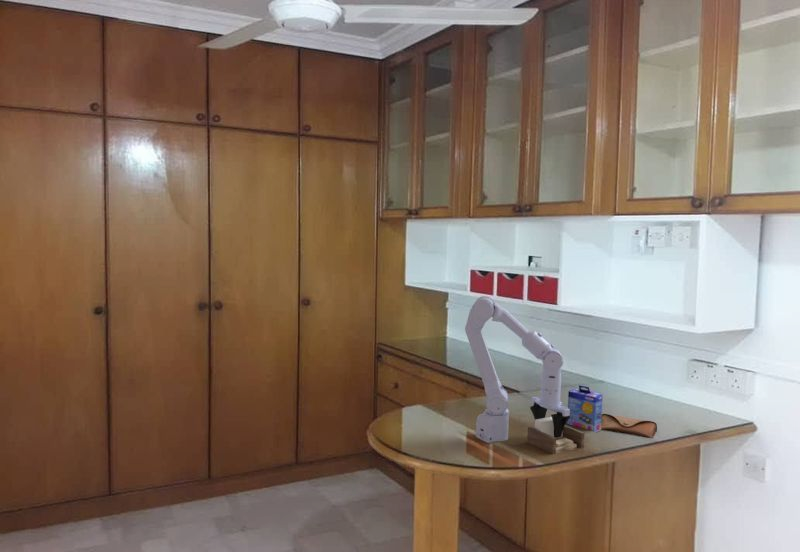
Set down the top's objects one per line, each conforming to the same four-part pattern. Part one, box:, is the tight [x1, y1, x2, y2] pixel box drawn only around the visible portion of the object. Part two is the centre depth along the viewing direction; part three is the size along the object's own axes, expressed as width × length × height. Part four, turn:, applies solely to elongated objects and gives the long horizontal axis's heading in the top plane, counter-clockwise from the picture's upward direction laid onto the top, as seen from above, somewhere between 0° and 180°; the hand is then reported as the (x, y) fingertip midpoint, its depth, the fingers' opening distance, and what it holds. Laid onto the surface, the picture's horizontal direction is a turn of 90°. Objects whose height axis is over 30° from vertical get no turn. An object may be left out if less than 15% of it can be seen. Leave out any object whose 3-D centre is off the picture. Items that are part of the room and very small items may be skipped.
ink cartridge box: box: [566, 385, 604, 433], centre depth 208 cm, size 10×6×14 cm, turn 49°
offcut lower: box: [556, 443, 577, 452], centre depth 187 cm, size 8×4×1 cm, turn 119°
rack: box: [526, 424, 585, 455], centre depth 189 cm, size 12×11×6 cm
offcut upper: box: [556, 438, 573, 447], centre depth 187 cm, size 6×3×1 cm, turn 119°
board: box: [534, 416, 563, 437], centre depth 191 cm, size 9×2×7 cm, turn 119°
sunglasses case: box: [600, 413, 658, 439], centre depth 208 cm, size 18×7×7 cm, turn 64°
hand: (548, 433), depth 192 cm, fingers open, 7 cm apart
